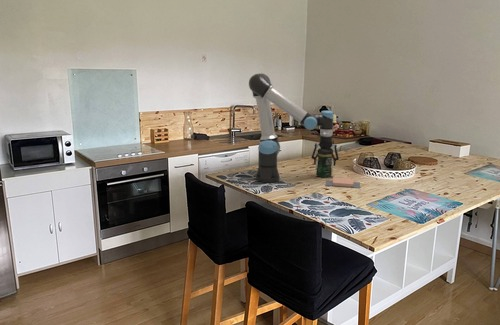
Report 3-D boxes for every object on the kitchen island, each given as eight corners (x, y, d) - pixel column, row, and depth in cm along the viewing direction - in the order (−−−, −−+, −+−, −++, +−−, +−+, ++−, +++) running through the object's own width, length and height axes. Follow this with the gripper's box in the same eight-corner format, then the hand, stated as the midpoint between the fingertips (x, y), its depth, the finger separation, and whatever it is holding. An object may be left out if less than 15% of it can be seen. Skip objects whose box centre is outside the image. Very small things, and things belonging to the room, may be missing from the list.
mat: (325, 185, 225) (325, 185, 225) (326, 180, 235) (326, 180, 235) (360, 188, 220) (360, 187, 220) (359, 183, 230) (359, 182, 230)
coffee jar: (322, 178, 239) (323, 149, 235) (314, 175, 246) (315, 147, 241) (333, 176, 244) (335, 148, 239) (325, 173, 251) (327, 146, 246)
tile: (333, 179, 235) (332, 185, 224) (333, 177, 235) (332, 182, 224) (353, 181, 232) (353, 187, 221) (353, 178, 232) (353, 184, 221)
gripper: (307, 135, 238) (306, 170, 243) (344, 137, 232) (342, 172, 238) (308, 133, 245) (307, 167, 250) (344, 135, 239) (342, 169, 245)
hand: (324, 169), depth 244 cm, fingers open, 10 cm apart
